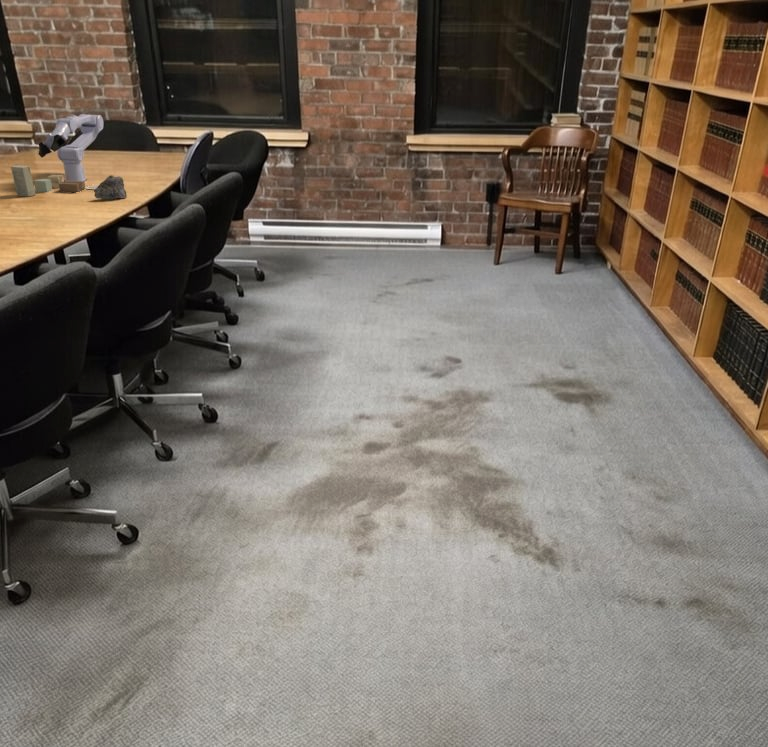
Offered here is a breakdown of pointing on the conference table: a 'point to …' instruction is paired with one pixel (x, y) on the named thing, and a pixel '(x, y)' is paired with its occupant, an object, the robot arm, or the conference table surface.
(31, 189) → the skincare box
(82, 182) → the walnut block
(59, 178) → the maple cube
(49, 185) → the sage cube
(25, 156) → the conference table surface
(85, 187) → the card
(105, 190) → the mineral rock
